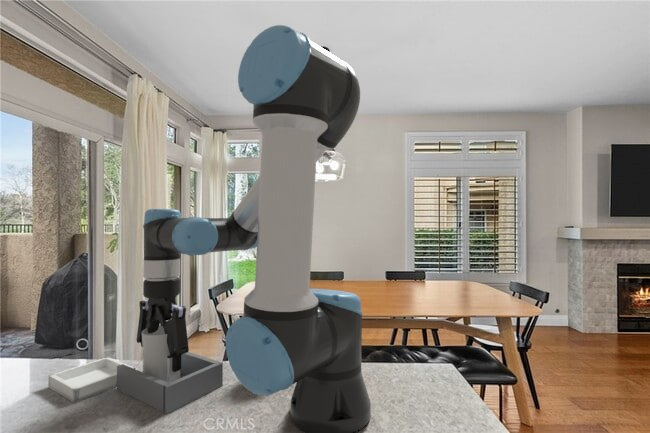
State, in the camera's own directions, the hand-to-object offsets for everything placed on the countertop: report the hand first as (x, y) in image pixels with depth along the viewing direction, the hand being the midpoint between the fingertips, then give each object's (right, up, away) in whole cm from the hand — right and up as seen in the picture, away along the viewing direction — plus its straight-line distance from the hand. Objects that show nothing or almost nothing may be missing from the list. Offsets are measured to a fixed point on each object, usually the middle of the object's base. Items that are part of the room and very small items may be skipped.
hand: (161, 379), depth 78 cm
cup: (0, -1, 0) cm, 1 cm away
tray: (-15, -1, 0) cm, 15 cm away
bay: (+3, -1, -2) cm, 3 cm away
